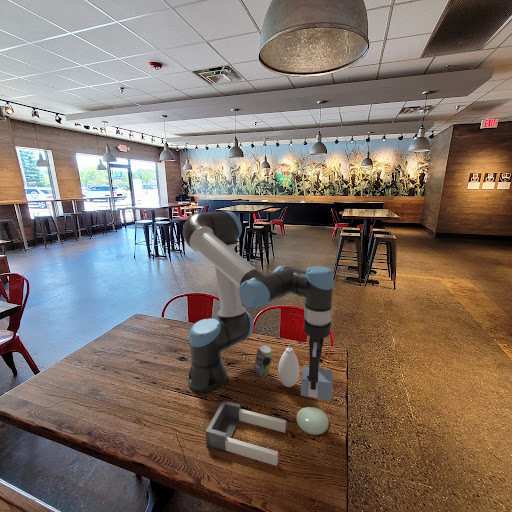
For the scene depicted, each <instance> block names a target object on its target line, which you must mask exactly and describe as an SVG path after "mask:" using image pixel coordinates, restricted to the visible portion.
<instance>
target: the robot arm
mask: <svg viewBox="0 0 512 512" xmlns="http://www.w3.org/2000/svg"><path fill="white" fill-rule="evenodd" d="M242 225H243V224H242V222H241V219H240V218H239V217H238V215H236V213H234V212H233V211H230V210H229V211H228V210H225V211H224V210H220V211H209V212H208V211H207V212H196V213H193V214H192V215H190V216H189V217H188V218H187V219H186V221H185V222H184V224H183V229H182V236H183V239H184V241H185V244H187V246H189V248H190V249H192V250H193V251H194V252H199V253H200V254H202V255H203V256H204V258H206V259H207V261H209V262H210V263H211V264H212V265H213V266H214V268H215V275H216V283H217V291H218V297H219V307H220V308H219V311H218V312H217V318H218V319H216V318H204V319H200V320H197V322H195V323H194V324H192V325H191V327H190V329H189V332H188V334H189V338H188V341H189V342H188V343H189V353H190V362H191V363H190V365H189V366H190V367H189V369H188V373H187V384H188V387H189V388H190V389H191V390H193V391H194V392H197V393H211V392H214V391H217V390H218V389H220V388H222V387H223V386H224V385H225V384H226V383H227V379H228V372H227V368H226V366H225V364H224V361H223V359H222V352H223V351H225V350H227V349H230V348H232V347H234V346H235V345H237V344H240V343H243V342H244V341H245V340H247V339H248V338H250V337H251V336H252V334H253V332H254V328H255V327H254V319H253V317H252V316H251V314H250V313H249V312H248V311H247V309H246V308H249V309H255V308H259V307H263V306H265V305H267V304H269V303H271V302H274V301H276V300H278V299H281V298H284V297H287V296H289V295H295V296H298V297H303V298H304V312H303V314H304V315H303V316H304V317H303V318H304V323H303V331H304V333H305V334H306V335H307V336H308V337H309V341H308V346H309V352H308V354H309V366H308V367H309V376H307V379H308V381H309V390H308V396H309V397H308V398H312V397H314V399H318V382H319V377H318V371H319V368H320V369H321V365H322V363H323V362H324V360H323V358H322V354H323V353H322V352H323V351H322V350H323V346H324V341H325V338H327V337H329V336H330V334H331V330H332V329H331V328H332V323H331V321H332V315H334V314H335V312H334V310H332V306H333V292H334V288H335V283H334V272H333V270H332V269H331V268H329V267H326V266H319V265H313V266H309V267H307V269H306V271H305V270H301V269H297V268H294V267H292V266H287V265H285V266H284V265H279V266H276V267H275V269H273V271H272V273H269V274H263V273H262V272H261V271H260V270H259V269H257V268H256V267H254V265H252V264H251V263H250V262H249V261H248V260H247V259H245V258H243V257H242V256H241V255H240V254H239V253H237V251H236V249H235V248H236V246H237V245H238V239H239V238H240V237H241V235H242V231H243V226H242ZM242 304H243V305H244V306H245V307H246V308H245V307H244V306H243V305H242ZM323 364H324V363H323Z"/></svg>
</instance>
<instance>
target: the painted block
mask: <svg viewBox="0 0 512 512" xmlns="http://www.w3.org/2000/svg"><path fill="white" fill-rule="evenodd" d="M307 376H309V366H305V365H303V366H302V372H301V379H300V396H302V397H308V398H310V397H309V396H308V390H309V381H308V379H307ZM318 377H319V382H318V398H317V399H319V400H324V401H329V402H330V401H332V398H333V387H334V386H333V383H334V380H333V377H334V376H333V369H327V368H326V369H325V368H321V367H320V368H319V371H318ZM311 398H312V399H313V398H314V397H311ZM314 399H315V398H314Z"/></svg>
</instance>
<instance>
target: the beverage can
mask: <svg viewBox="0 0 512 512" xmlns="http://www.w3.org/2000/svg"><path fill="white" fill-rule="evenodd" d="M255 355H256V356H255V360H254V366H253V374H254V375H255V376H257V377H258V378H266V377H268V376H269V371H270V366H271V362H272V357H273V356H272V355H273V351H272V348H271V347H270V346H268V345H266V344H262V345H260V346H259V347H258V348H257V350H256V354H255Z"/></svg>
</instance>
